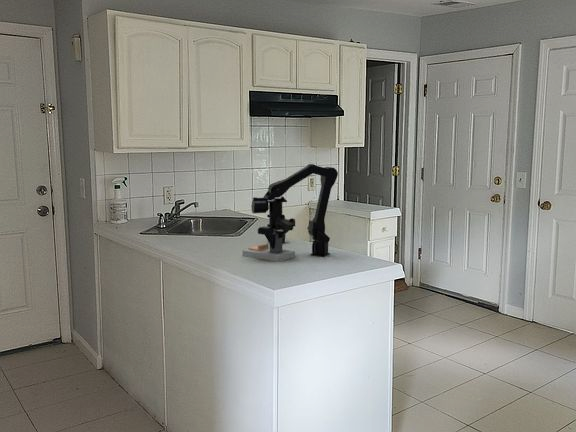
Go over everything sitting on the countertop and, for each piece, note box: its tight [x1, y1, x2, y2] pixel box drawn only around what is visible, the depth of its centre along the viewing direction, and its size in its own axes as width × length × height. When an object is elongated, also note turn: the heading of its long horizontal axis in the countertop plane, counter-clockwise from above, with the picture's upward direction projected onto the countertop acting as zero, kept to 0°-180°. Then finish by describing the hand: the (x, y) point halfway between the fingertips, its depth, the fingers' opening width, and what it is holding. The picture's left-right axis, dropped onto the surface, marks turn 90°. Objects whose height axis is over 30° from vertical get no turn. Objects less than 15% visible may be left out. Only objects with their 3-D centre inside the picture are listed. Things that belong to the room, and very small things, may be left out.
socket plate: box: [241, 246, 296, 263], centre depth 245 cm, size 20×12×2 cm, turn 54°
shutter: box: [247, 243, 270, 251], centre depth 248 cm, size 6×6×2 cm
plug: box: [269, 234, 283, 253], centre depth 242 cm, size 4×4×8 cm
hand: (275, 247), depth 243 cm, fingers closed on plug, 4 cm apart
